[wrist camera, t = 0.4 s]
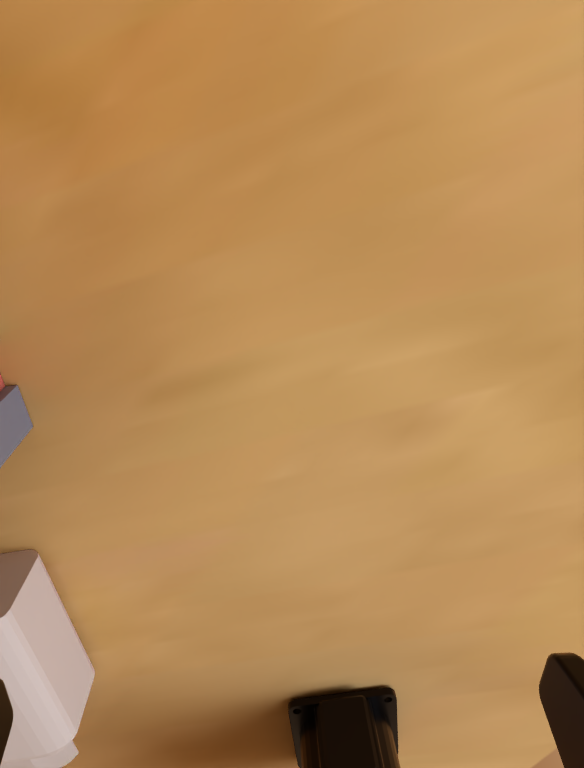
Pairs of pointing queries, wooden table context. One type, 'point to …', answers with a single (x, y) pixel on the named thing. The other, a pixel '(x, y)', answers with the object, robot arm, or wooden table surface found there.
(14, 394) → the book row
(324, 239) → the wooden table surface
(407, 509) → the wooden table surface
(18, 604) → the charger
